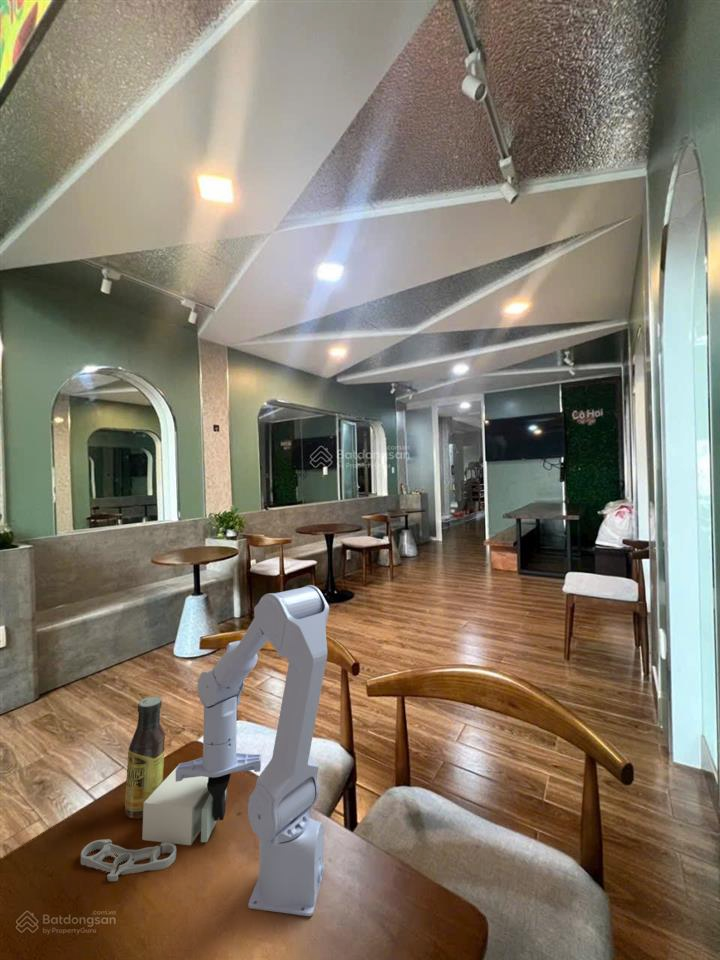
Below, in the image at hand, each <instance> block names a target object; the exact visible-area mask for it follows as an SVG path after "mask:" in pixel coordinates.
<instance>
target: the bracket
mask: <svg viewBox="0 0 720 960" xmlns="http://www.w3.org/2000/svg"><path fill="white" fill-rule="evenodd" d="M112 842H113V841H112V840H111V839H109V838H107V839H97V840H94V841H91V842H90V843H89V842H88V844H87V845H86V846H84V847H83V849H82V850H81V852H80V865H81V866H84V865H86V866H85V867H87V868H94V869H96V870H98V869H101V870H103V871H106V872H105V873H107V872H110V873H107V875H106V877H107V881H108V882H117V881H119V877H118V875H120V874H121V875H120V876H122V875H128V874H130V873H131V874H137V873H143V872H147V871H159V870H160V871H161V870H164V869H167V868H169V867H170V866H171V865H172V864H173V863H174V862H175V861H176V858H177V846H176V844H174V843H166V842H160V844H158V845H155V846H147V847H144V848H140V849H128V848H127V849H126V848H125V847H122V846H120V845H117V844H114V843H112ZM96 849H97V850H99V852H97V853H95V854H93V855H89V854H90V853H92V852H94V850H95V851H97V850H96ZM91 851H92V852H91ZM89 852H90V853H89ZM88 853H89V854H88ZM166 853H168V854H170V855H169V856H168V857H165V858H163V859H158V858H159V857H160V856H161V854H162V855H163V854H166ZM87 854H88V855H87ZM114 854H115V855H116V854H117V855H118V857H116V856H115V855H114ZM107 856H111V857H110V858H112V857H114V858H115V859H114V858H113V859H114V860H113V862H112V863H111V862H106V861H103V860H104V859H106V858H108V857H107ZM105 857H106V858H105ZM133 859H134V860H133ZM148 859H149V862H147V863H138V864H135V863H136V862H140V861H144V860H148ZM126 860H127V861H126ZM123 861H125V863H124V862H123ZM121 862H122V863H121ZM119 863H120V864H119ZM118 864H119V865H118ZM103 871H102V872H103Z"/></svg>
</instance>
